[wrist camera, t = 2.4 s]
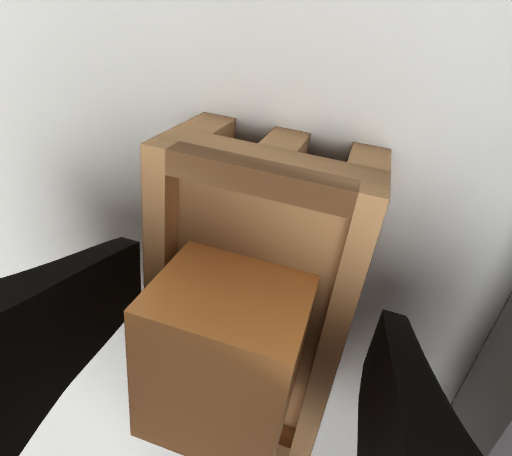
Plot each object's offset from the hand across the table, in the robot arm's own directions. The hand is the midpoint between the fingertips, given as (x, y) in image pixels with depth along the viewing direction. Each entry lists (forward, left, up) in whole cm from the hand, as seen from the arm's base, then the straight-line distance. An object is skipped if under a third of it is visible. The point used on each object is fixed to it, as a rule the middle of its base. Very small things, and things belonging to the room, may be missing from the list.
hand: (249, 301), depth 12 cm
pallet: (0, 0, -3) cm, 2 cm away
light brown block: (0, 0, 0) cm, 1 cm away
